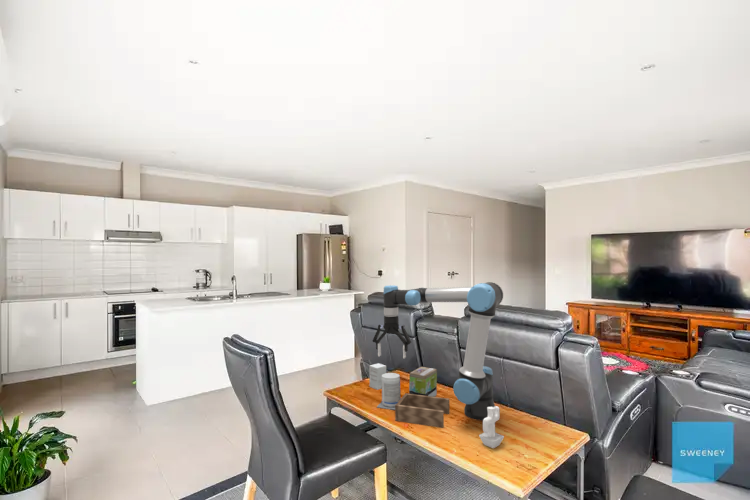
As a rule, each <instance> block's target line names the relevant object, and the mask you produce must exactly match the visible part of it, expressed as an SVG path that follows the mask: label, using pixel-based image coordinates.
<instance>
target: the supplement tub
mask: <svg viewBox="0 0 750 500" xmlns="http://www.w3.org/2000/svg"><path fill="white" fill-rule="evenodd" d="M400 399H401V376H400V374H399V373H395V372H386V373H385V374H383V375H382V389H381V402H382V404H383V405H385V406H388V407H395V405H396V404H397V403H398V401H399V400H400Z"/></svg>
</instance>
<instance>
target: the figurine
mask: <svg viewBox="0 0 750 500" xmlns="http://www.w3.org/2000/svg"><path fill="white" fill-rule="evenodd" d="M487 411H488V416H487V417H486V418H484V419H483V421H482V431H483V432H482V433H479V434H478V437H479V438H480V440H481V441H482V444H483V445H484V446H487V447H489V448H491V449H495V448H497V447H498V446H500V445H501V443H502V442H503V440H504V437H505V436H504V435H502V434H501V433H497V432H496V422H497V421H499V420H500V411H501V410H500V407H499V406H497V405H495V407H487Z"/></svg>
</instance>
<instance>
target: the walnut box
mask: <svg viewBox="0 0 750 500" xmlns="http://www.w3.org/2000/svg"><path fill="white" fill-rule="evenodd" d="M450 409H451V407H450V398H447V397H439V396H435V397H432V396H424V395H416V394H409V393H404V394H403V395H402V397H400V400H399V401H398V403H397V404H396V405H395V410H394V415H395V416H394V419H395V421H396V422H403V423H408V424H415V425H423V426H429V427H434V428H435V427H436V428H440V429H443V428H444V426H445V425H444V415H450V412H451V411H450Z"/></svg>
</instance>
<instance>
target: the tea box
mask: <svg viewBox="0 0 750 500" xmlns="http://www.w3.org/2000/svg"><path fill="white" fill-rule="evenodd" d="M437 381H438V369H437V368H432V367H431V368H430V367H428V366H427V367H425V366H420V367H418V368H416V369H414V370H413V371H412V370H411V372H409V385H408V387H409V388H408V390H409V393H408V394H416V395H424V396H432V397H437V393H438V391H437V390H438V388H437V386H438V385H437V384H438V382H437Z"/></svg>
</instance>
